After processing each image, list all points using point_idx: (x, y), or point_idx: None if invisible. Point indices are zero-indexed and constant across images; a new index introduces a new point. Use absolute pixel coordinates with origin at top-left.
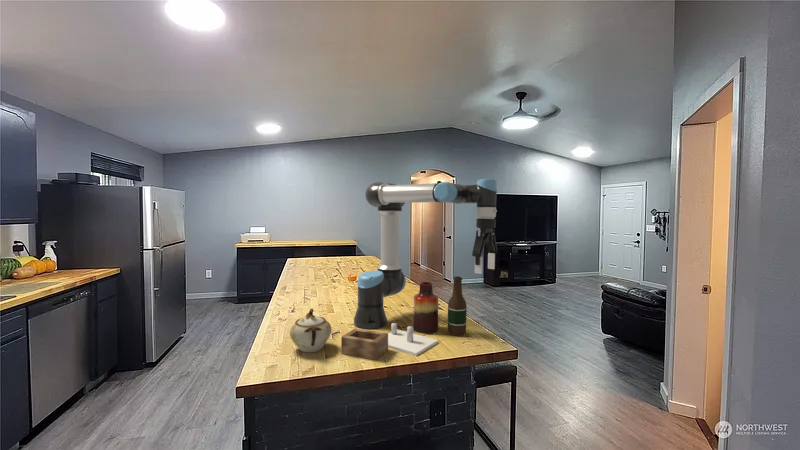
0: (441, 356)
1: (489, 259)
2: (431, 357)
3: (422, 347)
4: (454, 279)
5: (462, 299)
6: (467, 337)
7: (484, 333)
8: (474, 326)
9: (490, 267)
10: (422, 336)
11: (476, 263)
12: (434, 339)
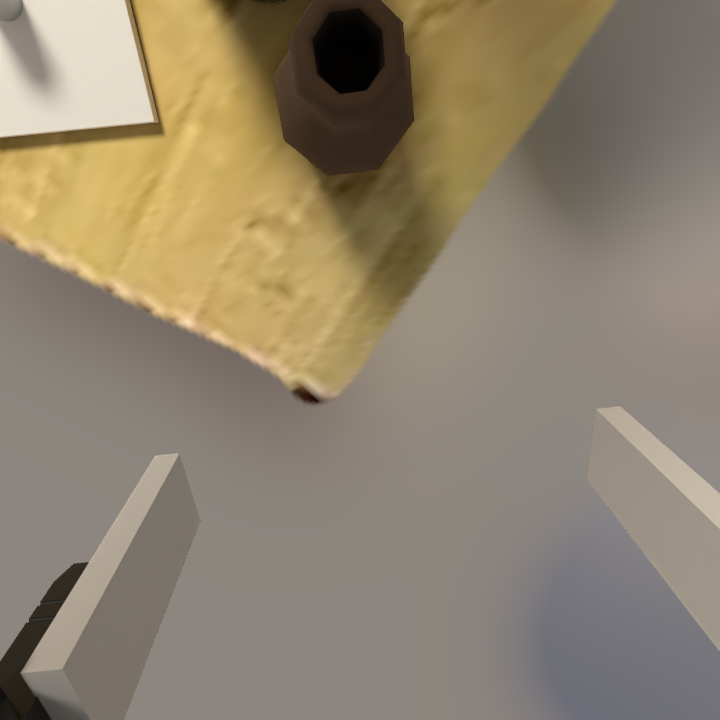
0: (53, 235)
1: (677, 517)
2: (7, 208)
3: (11, 121)
4: (288, 39)
5: (339, 154)
6: (328, 199)
7: (436, 235)
8: (506, 137)
9: (602, 451)
10: (117, 7)
11: (59, 601)
12: (141, 99)
